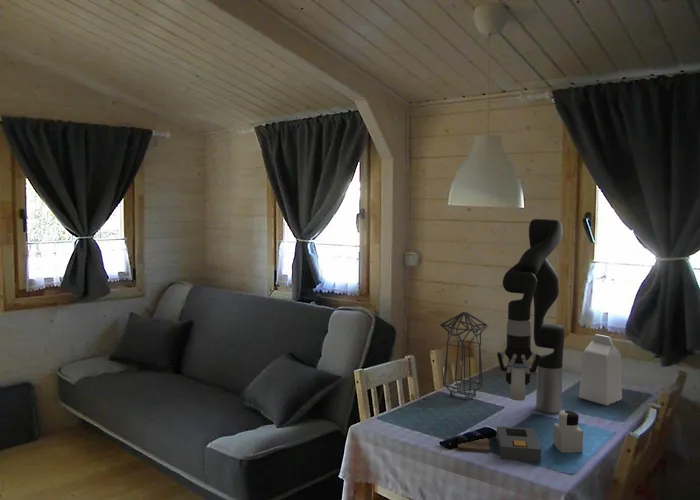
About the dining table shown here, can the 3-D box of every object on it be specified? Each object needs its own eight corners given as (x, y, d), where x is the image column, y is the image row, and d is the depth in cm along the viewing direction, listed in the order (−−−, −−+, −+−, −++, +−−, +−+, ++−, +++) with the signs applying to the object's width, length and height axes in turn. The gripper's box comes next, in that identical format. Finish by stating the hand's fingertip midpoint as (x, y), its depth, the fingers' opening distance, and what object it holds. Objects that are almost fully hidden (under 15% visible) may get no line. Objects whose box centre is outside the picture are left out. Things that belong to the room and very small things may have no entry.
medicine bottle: (573, 443, 197) (575, 408, 196) (582, 452, 190) (584, 416, 189) (552, 444, 197) (553, 408, 196) (560, 453, 190) (562, 416, 189)
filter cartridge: (508, 395, 198) (509, 359, 197) (524, 396, 198) (525, 360, 197) (510, 400, 193) (510, 364, 192) (526, 401, 192) (527, 364, 191)
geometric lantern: (436, 396, 245) (437, 312, 243) (456, 388, 257) (458, 307, 255) (470, 404, 235) (471, 316, 233) (489, 395, 246) (491, 311, 244)
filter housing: (496, 437, 202) (496, 426, 202) (533, 440, 200) (533, 428, 200) (500, 459, 185) (501, 446, 185) (540, 461, 183) (541, 449, 183)
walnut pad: (457, 438, 202) (457, 435, 202) (487, 440, 200) (487, 437, 200) (458, 450, 192) (458, 447, 192) (489, 452, 190) (489, 449, 190)
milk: (578, 397, 244) (580, 334, 242) (594, 392, 251) (596, 331, 249) (606, 405, 234) (608, 340, 232) (621, 399, 241) (624, 336, 239)
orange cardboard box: (513, 452, 189) (513, 440, 189) (524, 453, 189) (525, 440, 188) (514, 457, 186) (514, 444, 185) (526, 458, 185) (526, 445, 185)
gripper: (539, 330, 196) (538, 381, 198) (495, 329, 198) (494, 379, 200) (543, 336, 189) (542, 388, 190) (497, 334, 191) (496, 386, 192)
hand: (517, 383), depth 195 cm, fingers closed on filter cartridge, 4 cm apart
